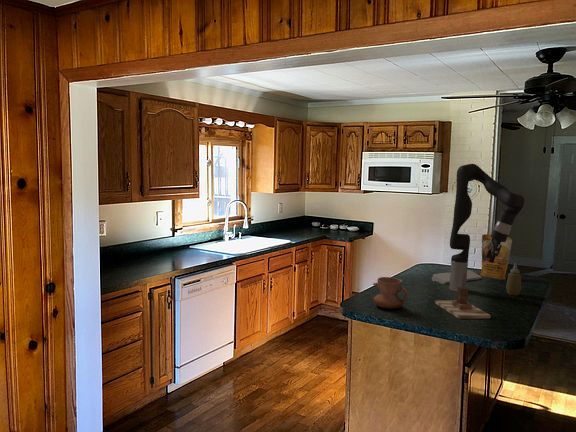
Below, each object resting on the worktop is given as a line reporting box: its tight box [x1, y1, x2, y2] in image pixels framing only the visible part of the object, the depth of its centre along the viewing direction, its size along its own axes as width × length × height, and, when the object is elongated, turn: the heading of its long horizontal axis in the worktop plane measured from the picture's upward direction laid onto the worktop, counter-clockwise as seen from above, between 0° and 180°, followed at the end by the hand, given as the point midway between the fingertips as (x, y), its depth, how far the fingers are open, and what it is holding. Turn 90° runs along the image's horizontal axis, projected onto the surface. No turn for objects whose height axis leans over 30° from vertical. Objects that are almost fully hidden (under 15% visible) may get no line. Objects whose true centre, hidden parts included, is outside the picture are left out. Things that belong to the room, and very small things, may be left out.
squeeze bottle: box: [505, 262, 522, 296], centre depth 281 cm, size 8×8×18 cm
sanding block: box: [451, 286, 473, 310], centre depth 245 cm, size 9×6×10 cm, turn 8°
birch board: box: [434, 299, 492, 320], centre depth 246 cm, size 26×16×2 cm, turn 8°
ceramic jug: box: [372, 276, 409, 310], centre depth 246 cm, size 18×14×14 cm
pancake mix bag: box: [479, 233, 513, 281], centre depth 324 cm, size 7×19×28 cm, turn 47°
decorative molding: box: [431, 269, 482, 285], centre depth 314 cm, size 34×5×10 cm
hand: (489, 260), depth 252 cm, fingers open, 8 cm apart
